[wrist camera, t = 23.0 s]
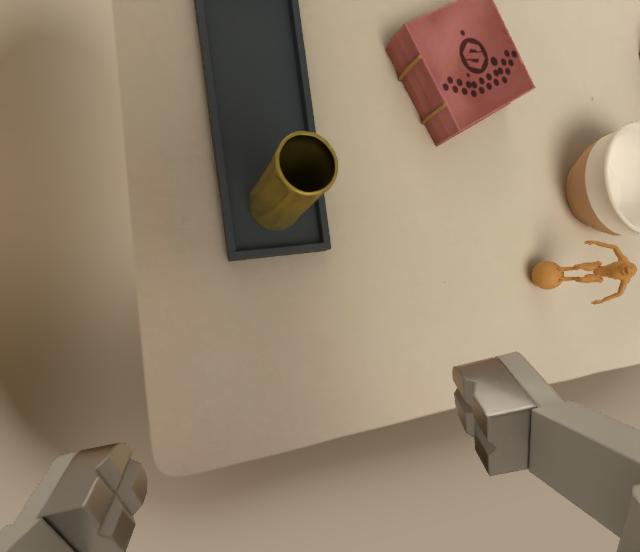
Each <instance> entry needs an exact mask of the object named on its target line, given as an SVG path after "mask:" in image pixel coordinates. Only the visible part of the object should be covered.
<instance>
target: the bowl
mask: <svg viewBox="0 0 640 552" xmlns="http://www.w3.org/2000/svg"><path fill="white" fill-rule="evenodd" d="M566 196H567V201H568V203H569V206H570V208H571V210H572V212H573V213H574V215H575V216H576V217H577V218H578V219H579V220H580V221H581V222H583V223H585V224H587V225H590V226H592V227H593V228H595V229H597V230H599V231H602V232H605V233H608V234H611V235H635V234H640V122H631V123H629V124H626V125H624V126H623V127H622V128H620V129H619V130H618V131H617V132H614V133H611V134H608V135H606V136H603V137H602V138H600V139H599V140H597V141H595V142H594V143H592V144H591V145H590V146H589V147H588V148H587V149H586V150H585V151H584V152H583V153H582V154H581V156H580V157H579V158H578V160H577V162H576V164H575V165H574V166H573V167H572V168H571V170H570V172H569V174H568V177H567V180H566Z"/></svg>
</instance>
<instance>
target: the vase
mask: <svg viewBox="0 0 640 552" xmlns="http://www.w3.org/2000/svg"><path fill="white" fill-rule="evenodd" d="M337 173H338V160H337V156H336V154H335V152H334V150H333V148H332V147H331V146H330V144H329V143H328V142H327V141H326V140H325V139H324V138H322V137H321V136H319V135H318V134H316V133H313V132H307V131H297V132H294V133H291V134H290V135H288V136H286V137H285V138H284V139H283V140H282V141H281V142H280V144H279V146H278V148H277V150H276V152H275V154H274V156H273V158H272V160H271V162H270V163H269V165H268V167H267V168H266V170H265V171H264V173H263V175H262V176H261V178H260V179H259V181H258V183H257V184H256V185H255V186H254V188H253V189H252V191H251V193H250V195H249V210H250V213H251V215H252V216H253V218H254V219H255V221H256V222H257V223H258V224H259V225H261V226H262V227H264V228H266V229H269V230H273V231H279V230H284V229H287V228H289V227H290V226H292V225H293V224H294V223H295V222H296V221H297V219H298V218H299V216H300V215H301V214H303V213H304V212H305V211H306V210H307V209H308V208H309V207H310V206H311V205H312V204H313V203H314V202H315V201H316V200H317V199H318V198H319V197H320V196H322V195H323V194H324V193H325V192H326V191H327V190H329V189H330V188H331V186H332V185H333V183H334V182H335V180H336V177H337Z"/></svg>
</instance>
